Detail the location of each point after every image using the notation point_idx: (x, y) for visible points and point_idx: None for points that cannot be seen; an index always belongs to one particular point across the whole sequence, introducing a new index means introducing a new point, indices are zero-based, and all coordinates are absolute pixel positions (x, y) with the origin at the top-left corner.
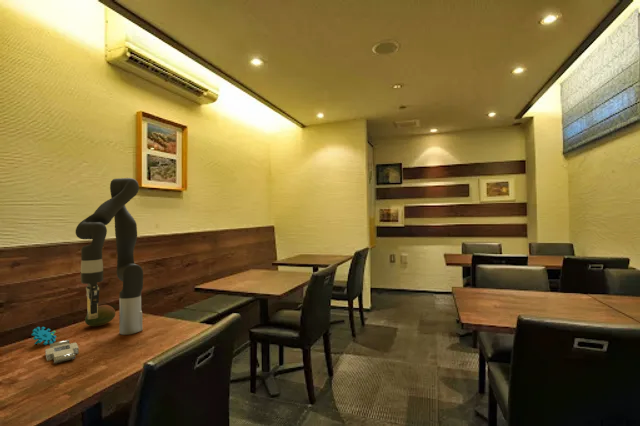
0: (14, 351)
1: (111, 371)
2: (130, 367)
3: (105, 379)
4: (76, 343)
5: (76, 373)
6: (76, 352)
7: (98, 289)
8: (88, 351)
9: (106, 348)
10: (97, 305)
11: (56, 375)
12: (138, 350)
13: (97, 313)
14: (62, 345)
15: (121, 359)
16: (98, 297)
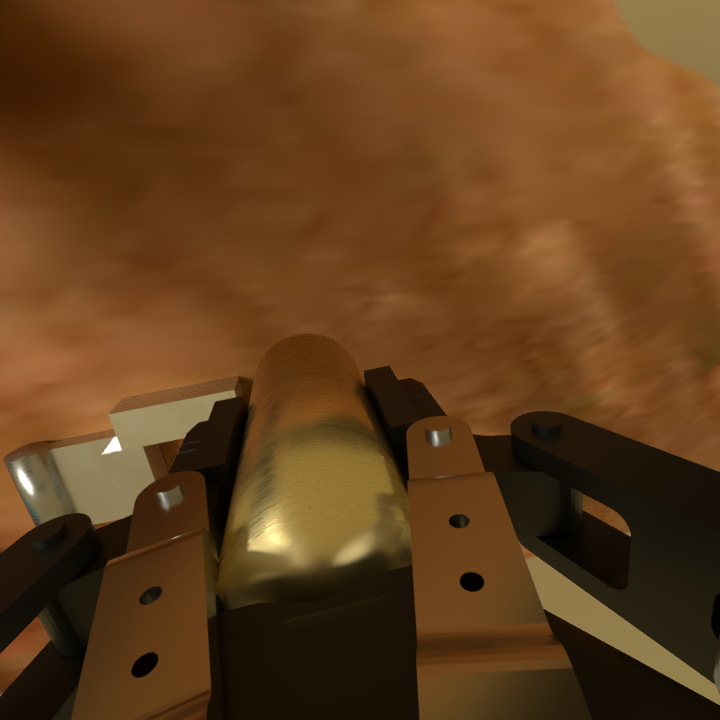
0: (14, 662)
1: (634, 206)
2: (659, 106)
3: (702, 234)
4: (136, 409)
5: (536, 357)
6: (240, 388)
7: (569, 693)
8: (235, 326)
9: (240, 224)
10: (341, 400)
11: (497, 431)
12: (418, 15)
13: (332, 354)
14: (134, 478)
15: (506, 144)
16: (708, 475)
